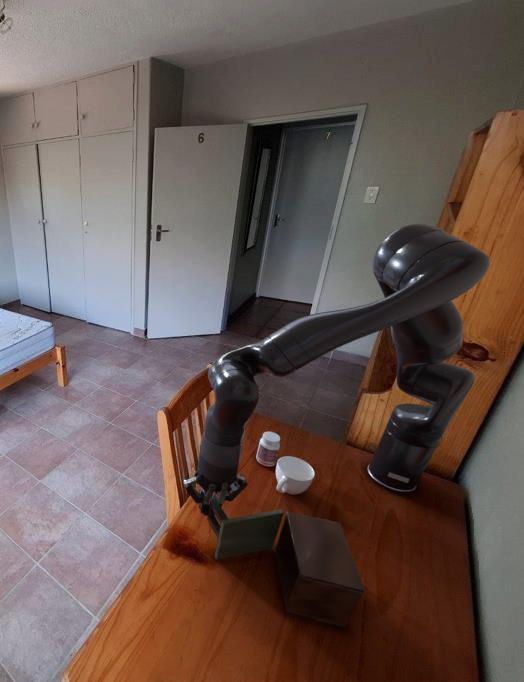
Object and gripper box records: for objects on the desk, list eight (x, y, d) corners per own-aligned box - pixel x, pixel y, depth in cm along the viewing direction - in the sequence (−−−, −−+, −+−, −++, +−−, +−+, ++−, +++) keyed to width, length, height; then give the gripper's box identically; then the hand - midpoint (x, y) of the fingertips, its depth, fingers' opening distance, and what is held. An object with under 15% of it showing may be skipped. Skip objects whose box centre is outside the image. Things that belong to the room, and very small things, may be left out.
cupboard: (286, 612, 65) (301, 574, 60) (274, 548, 76) (286, 511, 71) (344, 629, 63) (365, 590, 57) (324, 560, 73) (340, 522, 68)
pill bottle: (277, 467, 95) (284, 443, 91) (258, 465, 96) (264, 441, 92) (272, 454, 99) (278, 431, 95) (253, 453, 100) (259, 429, 96)
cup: (314, 490, 88) (321, 470, 85) (291, 511, 83) (297, 490, 80) (282, 470, 94) (288, 451, 91) (260, 488, 89) (265, 469, 86)
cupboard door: (200, 529, 80) (206, 494, 75) (252, 519, 82) (261, 484, 77) (216, 559, 74) (224, 523, 69) (272, 548, 76) (284, 512, 71)
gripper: (191, 468, 68) (183, 529, 75) (264, 464, 68) (248, 525, 75) (179, 441, 74) (173, 499, 82) (245, 437, 75) (232, 495, 82)
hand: (209, 511), depth 79 cm, fingers closed
